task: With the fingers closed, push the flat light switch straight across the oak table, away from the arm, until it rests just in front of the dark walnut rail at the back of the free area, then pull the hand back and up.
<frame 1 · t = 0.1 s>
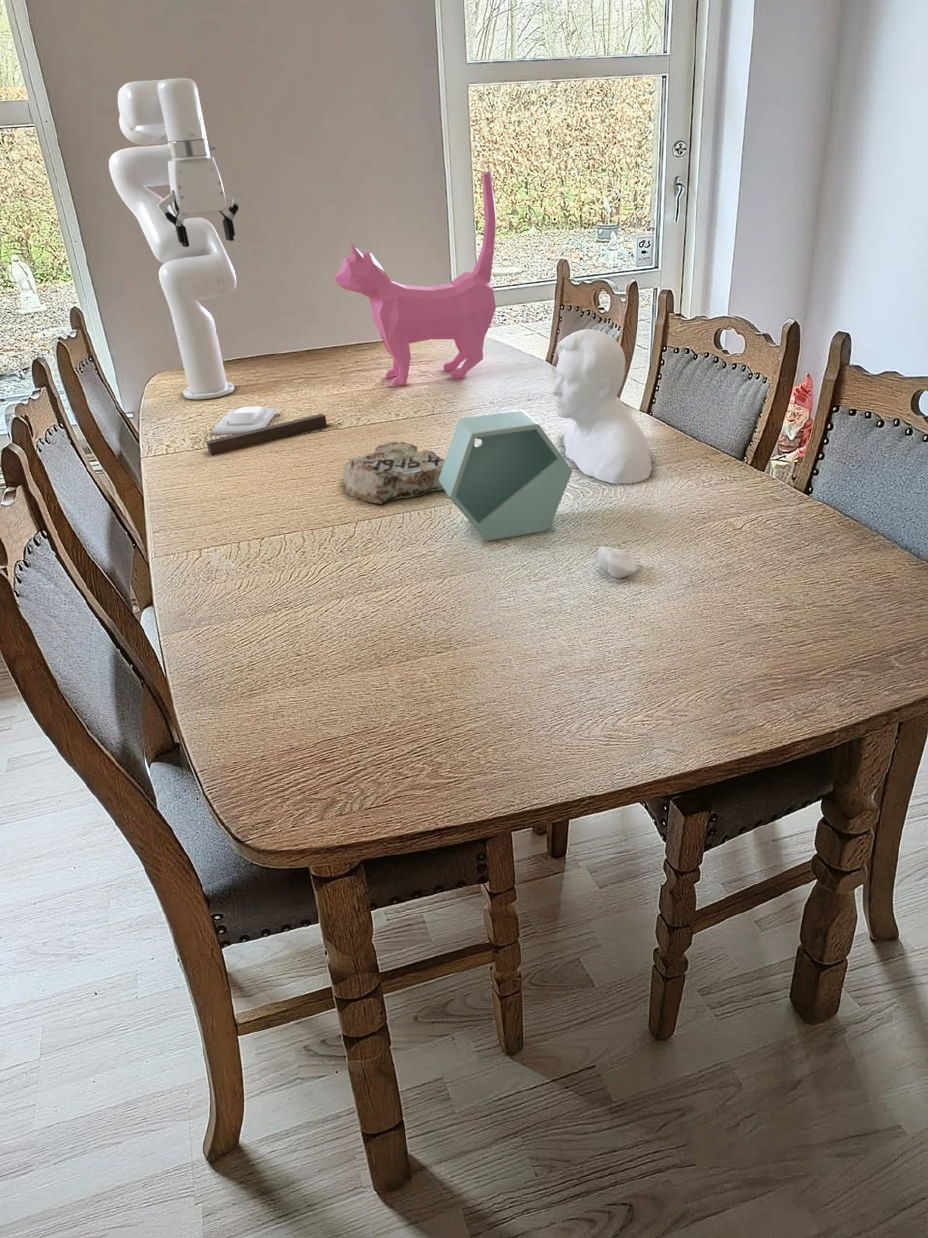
hand: (208, 243, 181), 37 cm above the table, tool pointing down, fingers open, 9 cm apart
bust: (599, 458, 161), on the table
cat: (427, 378, 217), on the table
back rail: (269, 439, 183), on the table
stone: (392, 479, 159), on the table
light switch: (246, 424, 193), on the table
planter: (506, 528, 137), on the table
dumpling: (617, 574, 122), on the table
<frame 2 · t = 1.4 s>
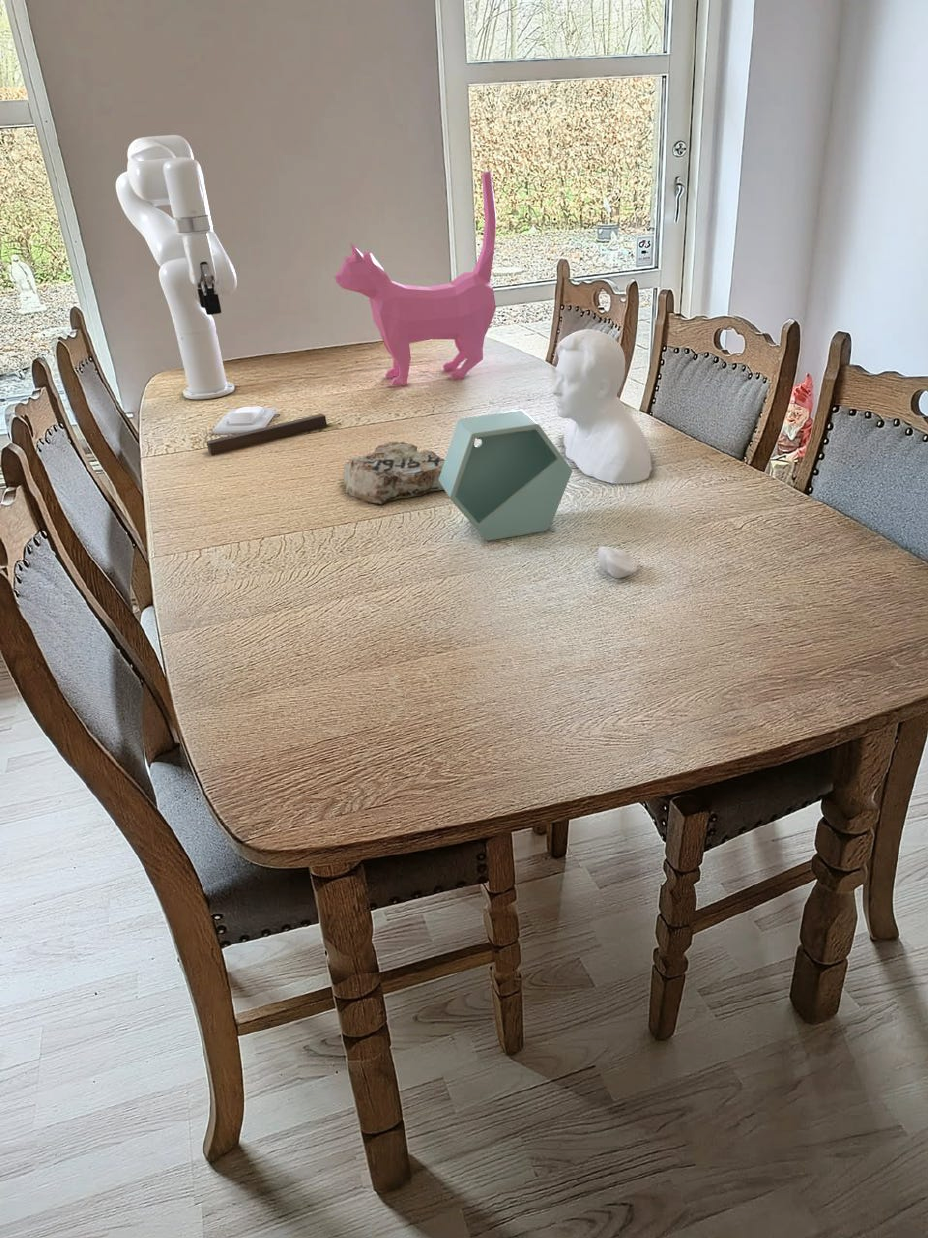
hand: (211, 310, 190), 23 cm above the table, tool pointing down, fingers open, 9 cm apart
nothing on the table moved.
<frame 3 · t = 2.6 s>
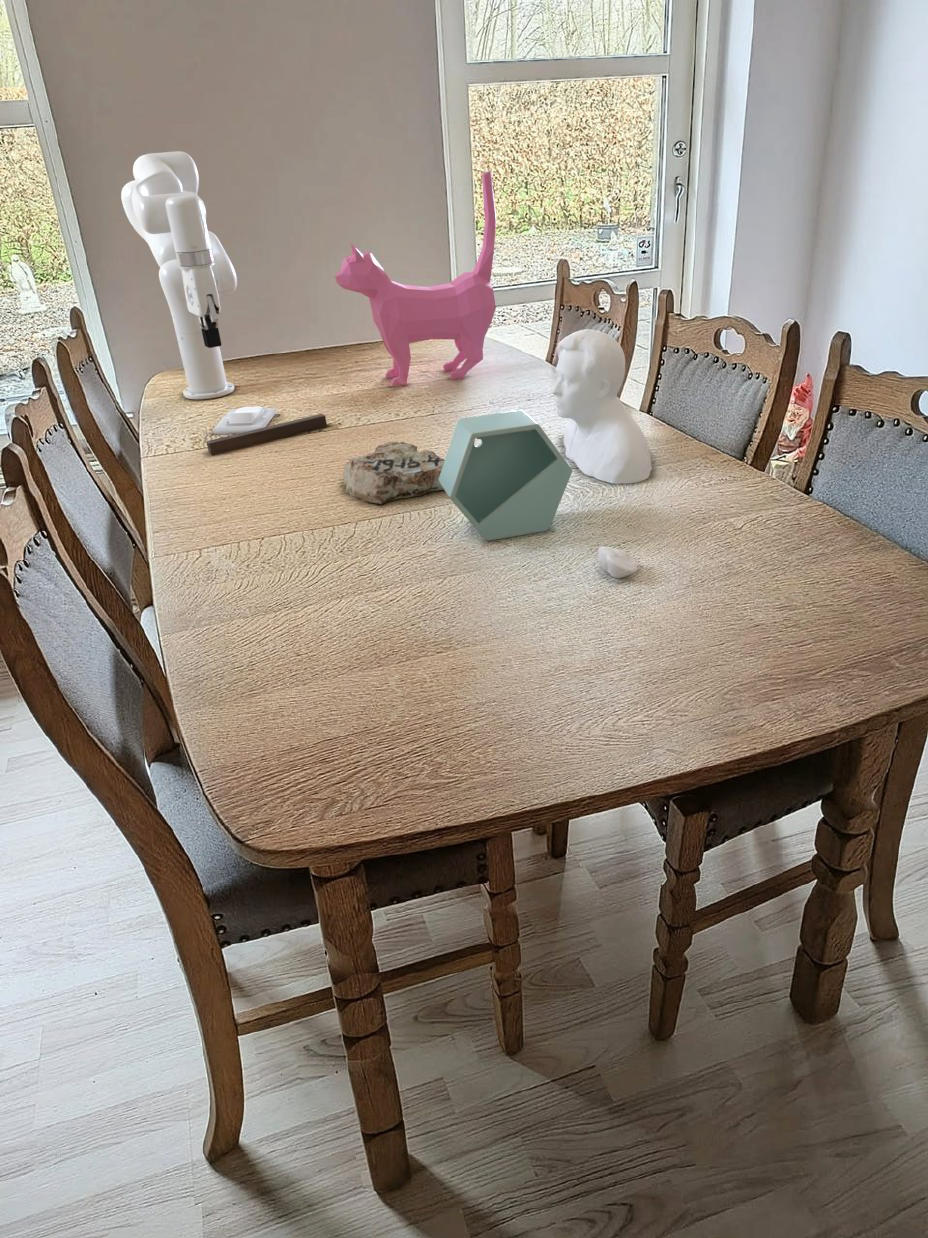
hand: (213, 345, 195), 15 cm above the table, tool pointing down, fingers closed
nothing on the table moved.
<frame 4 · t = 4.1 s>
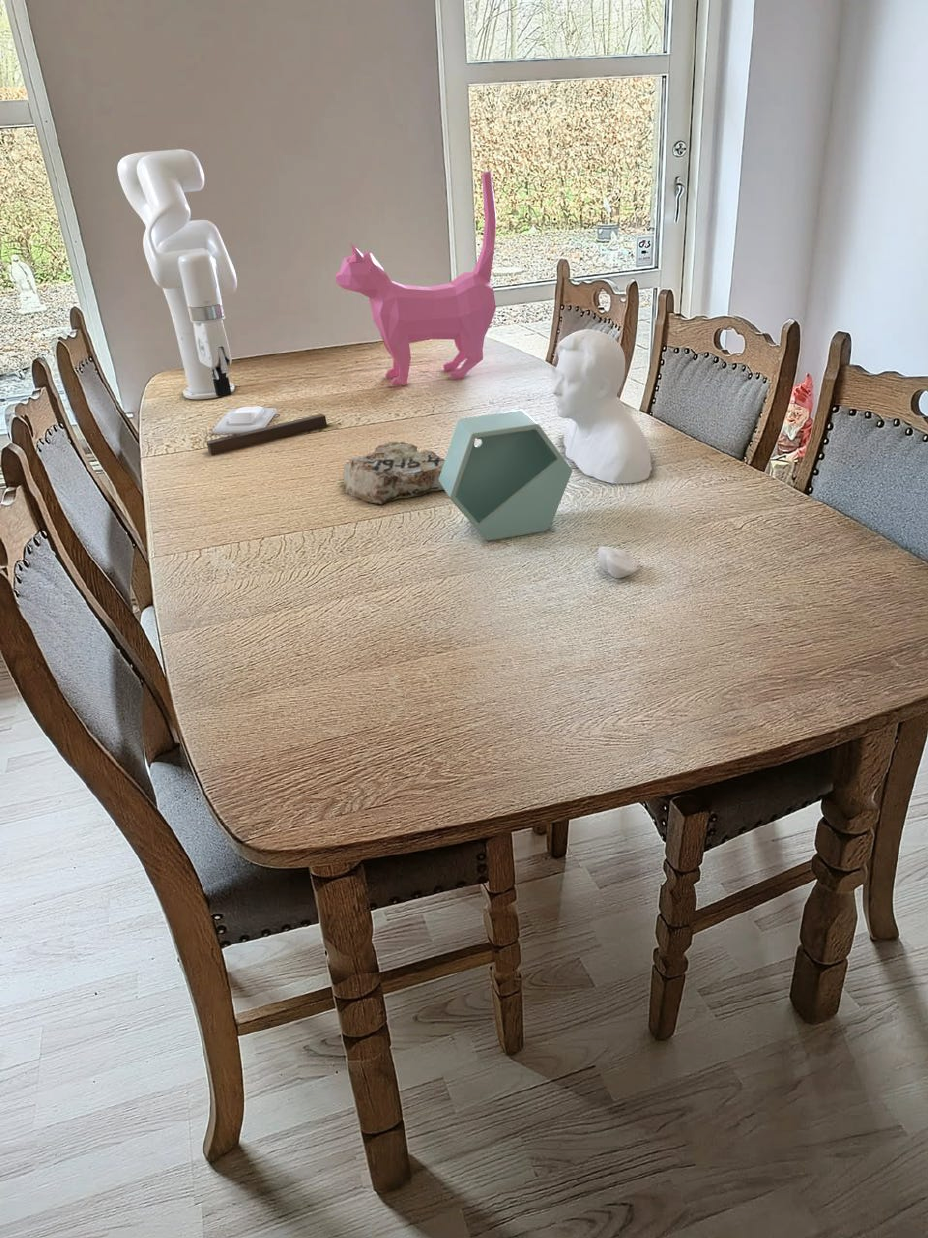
hand: (224, 395, 200), 4 cm above the table, tool pointing down, fingers closed
nothing on the table moved.
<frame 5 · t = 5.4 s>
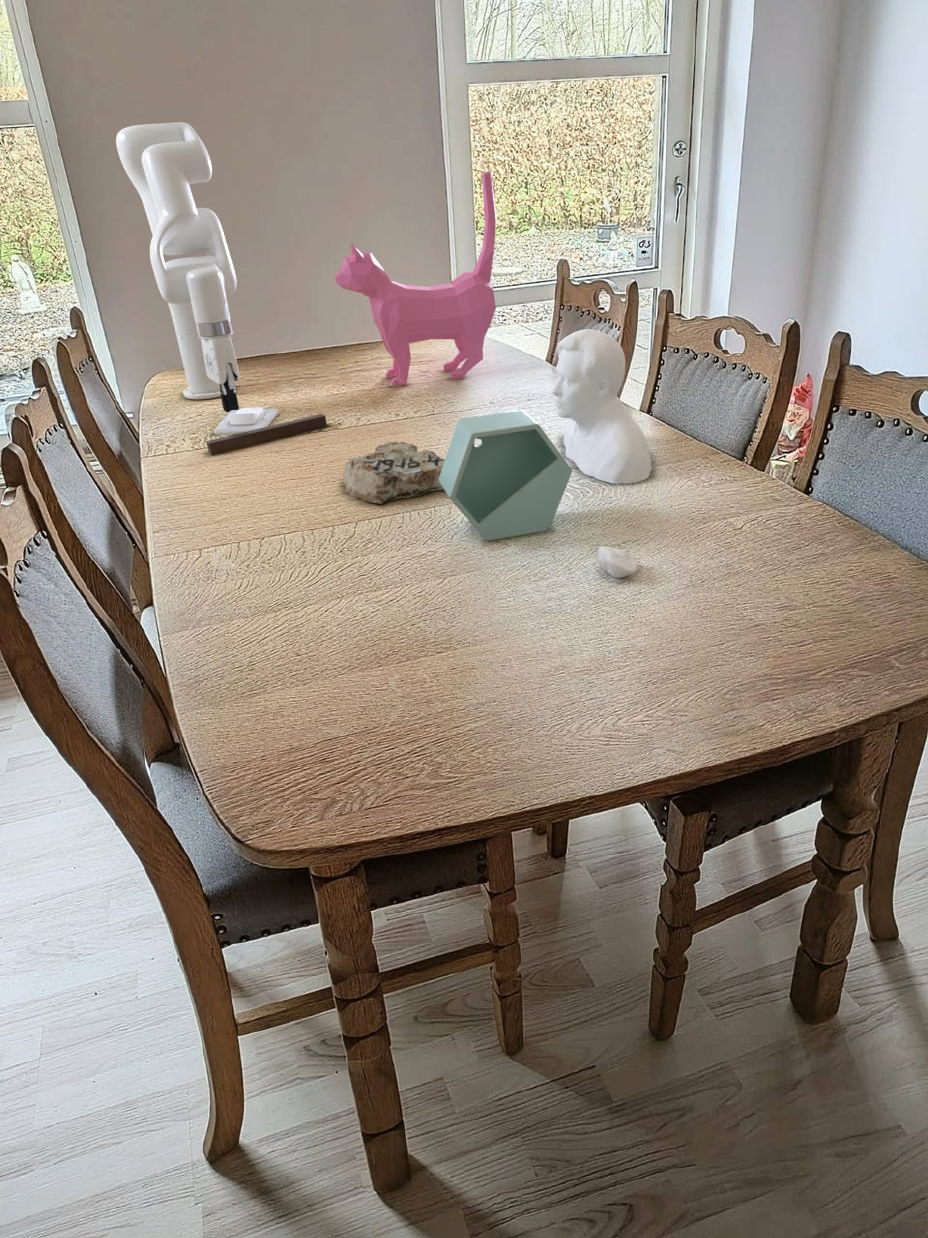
hand: (231, 410, 199), 1 cm above the table, tool pointing down, fingers closed
light switch: (247, 425, 193), on the table, touching gripper
everything else where it was.
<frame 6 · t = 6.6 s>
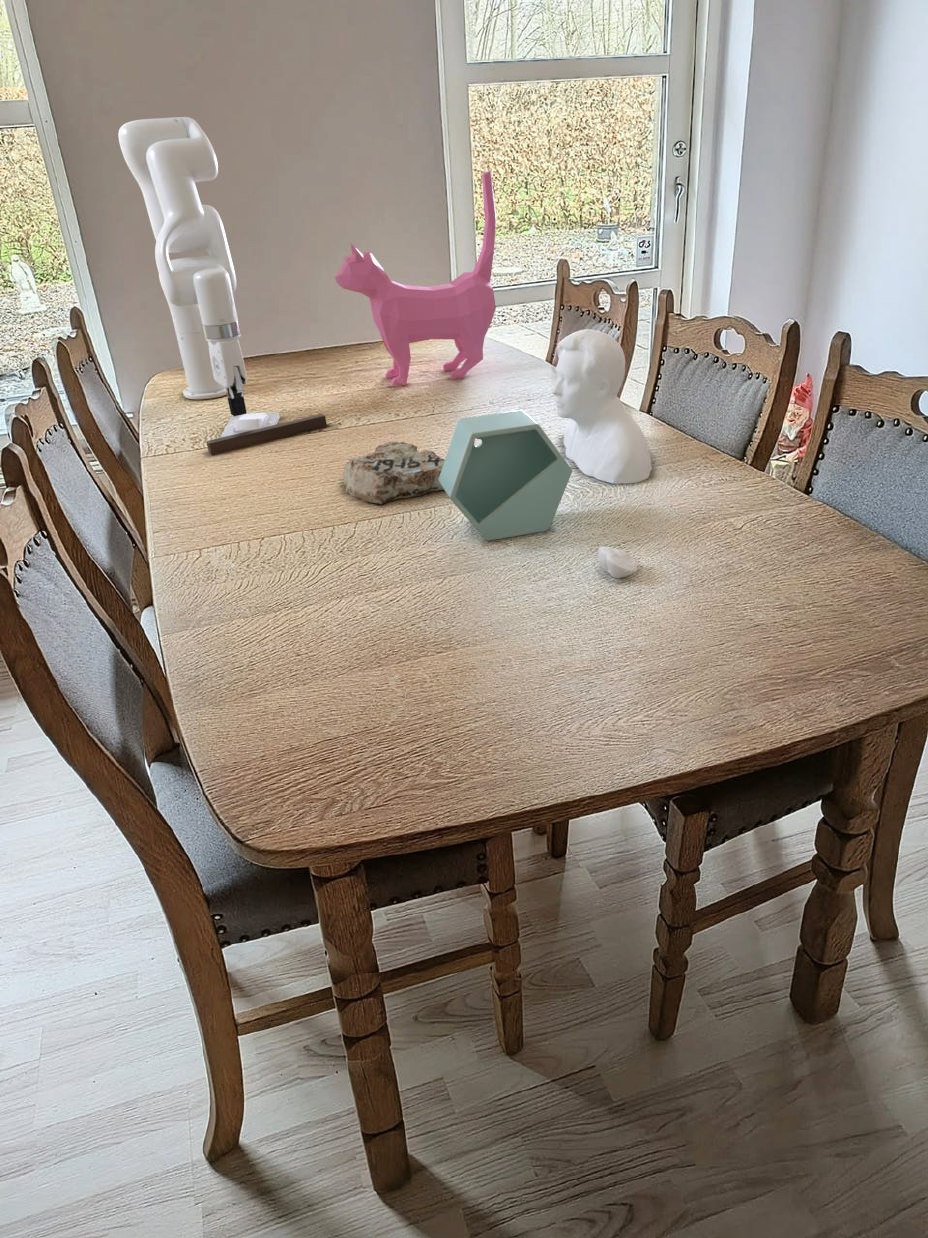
hand: (238, 414, 195), 1 cm above the table, tool pointing down, fingers closed
light switch: (251, 431, 190), on the table, touching gripper
everything else where it was.
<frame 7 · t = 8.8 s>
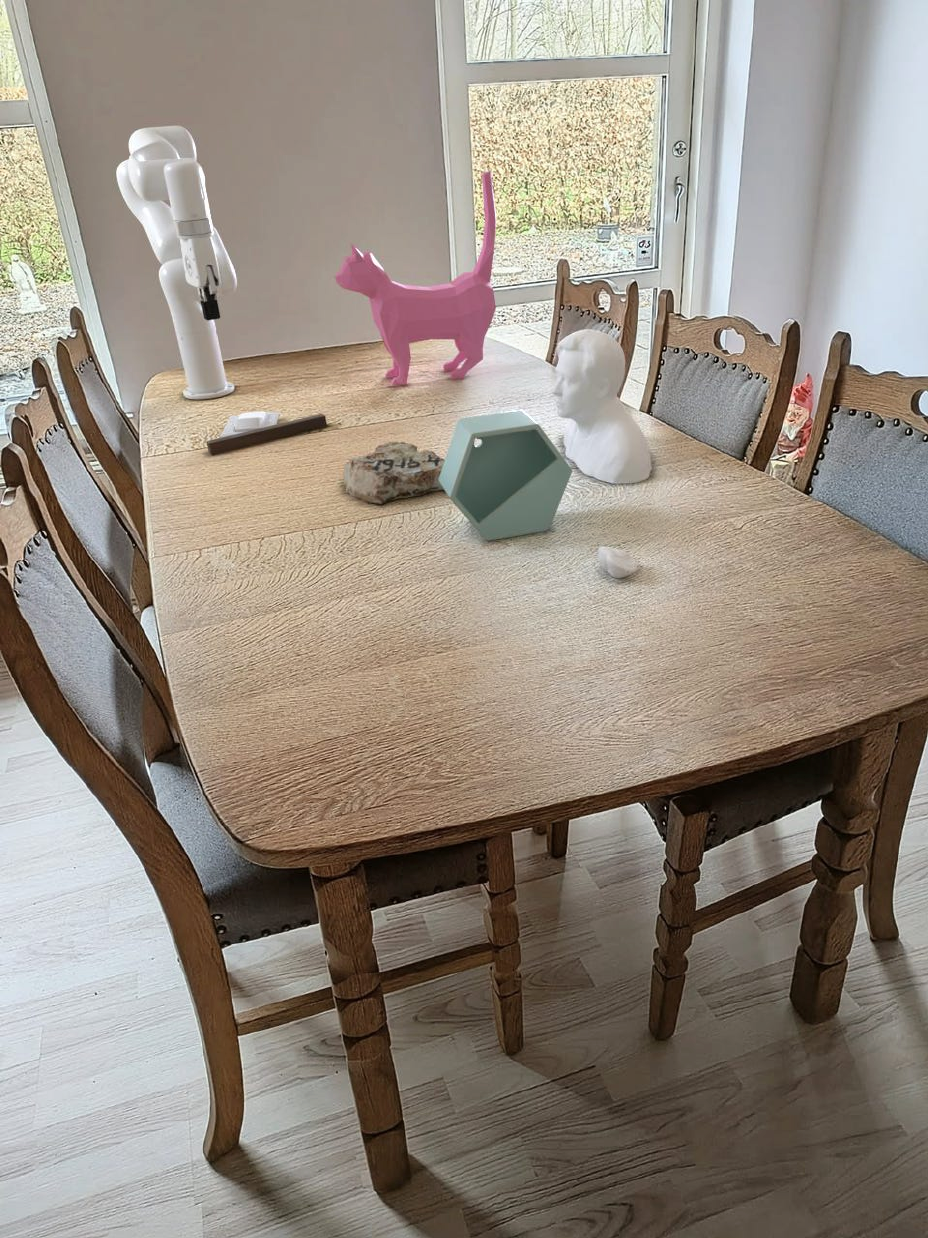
hand: (212, 318, 189), 21 cm above the table, tool pointing down, fingers closed
light switch: (251, 430, 189), on the table
everything else where it was.
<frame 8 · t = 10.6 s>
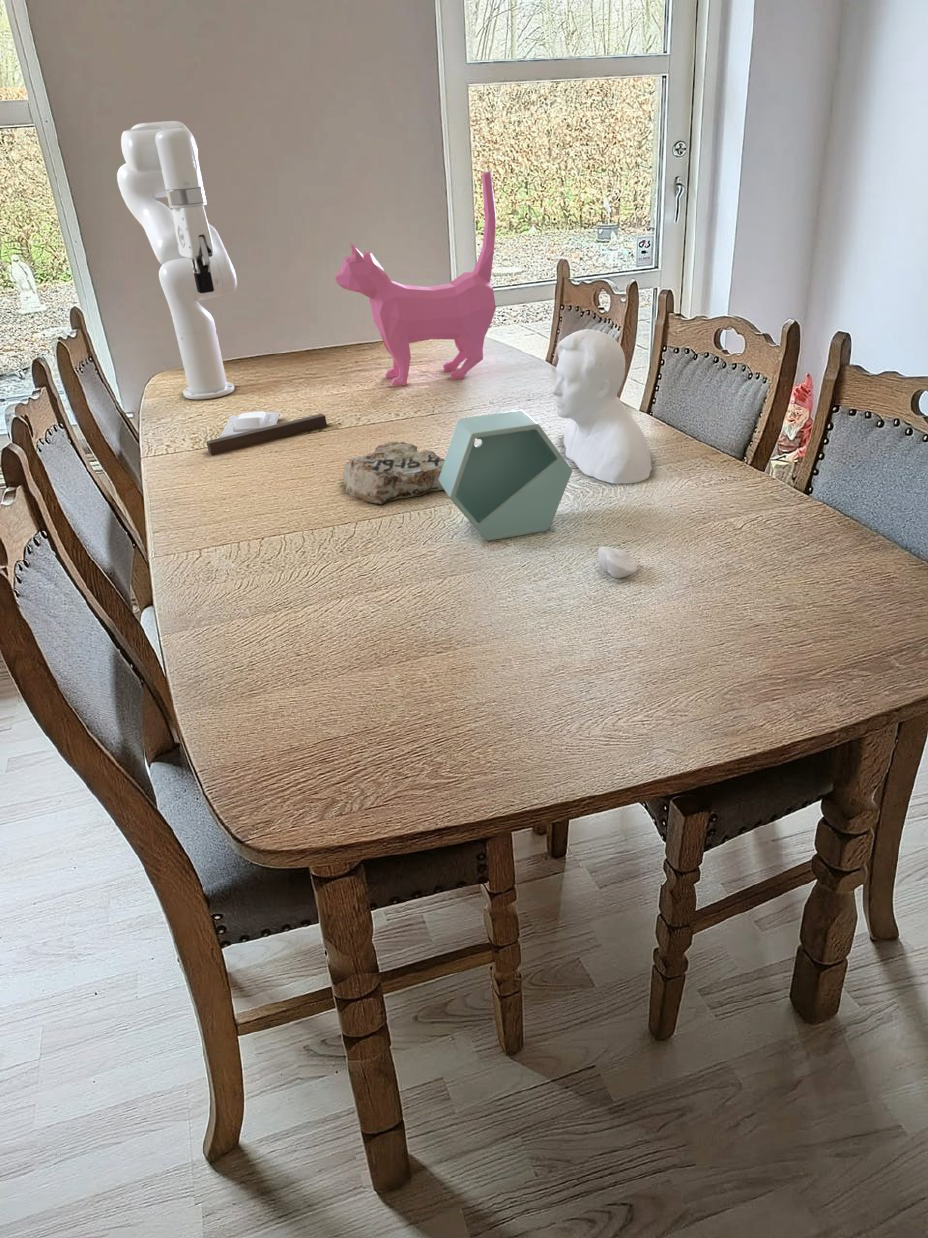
hand: (206, 291, 187), 27 cm above the table, tool pointing down, fingers closed
nothing on the table moved.
at the end: light switch 1.2 cm from the target spot, on the table; light switch moved 4.7 cm from its start; light switch tilted 0° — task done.
